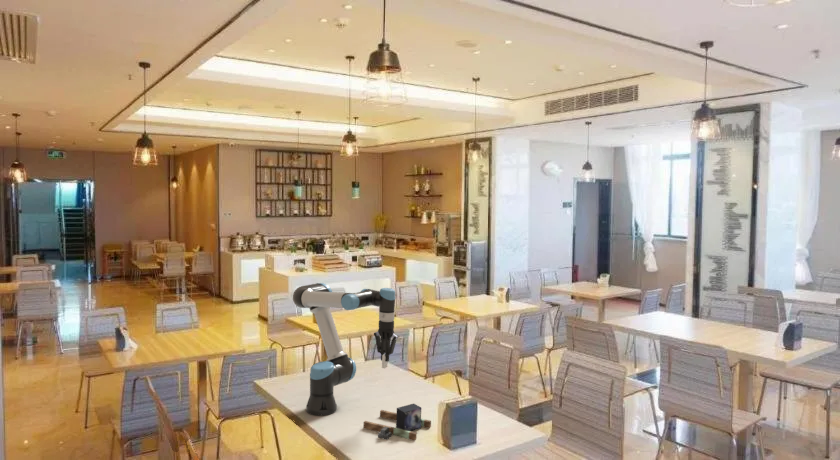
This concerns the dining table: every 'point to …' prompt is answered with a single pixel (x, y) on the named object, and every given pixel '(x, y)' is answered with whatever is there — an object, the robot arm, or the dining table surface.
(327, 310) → the robot arm
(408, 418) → the small box
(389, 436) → the fulcrum
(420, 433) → the dining table surface
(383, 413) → the beam slot
